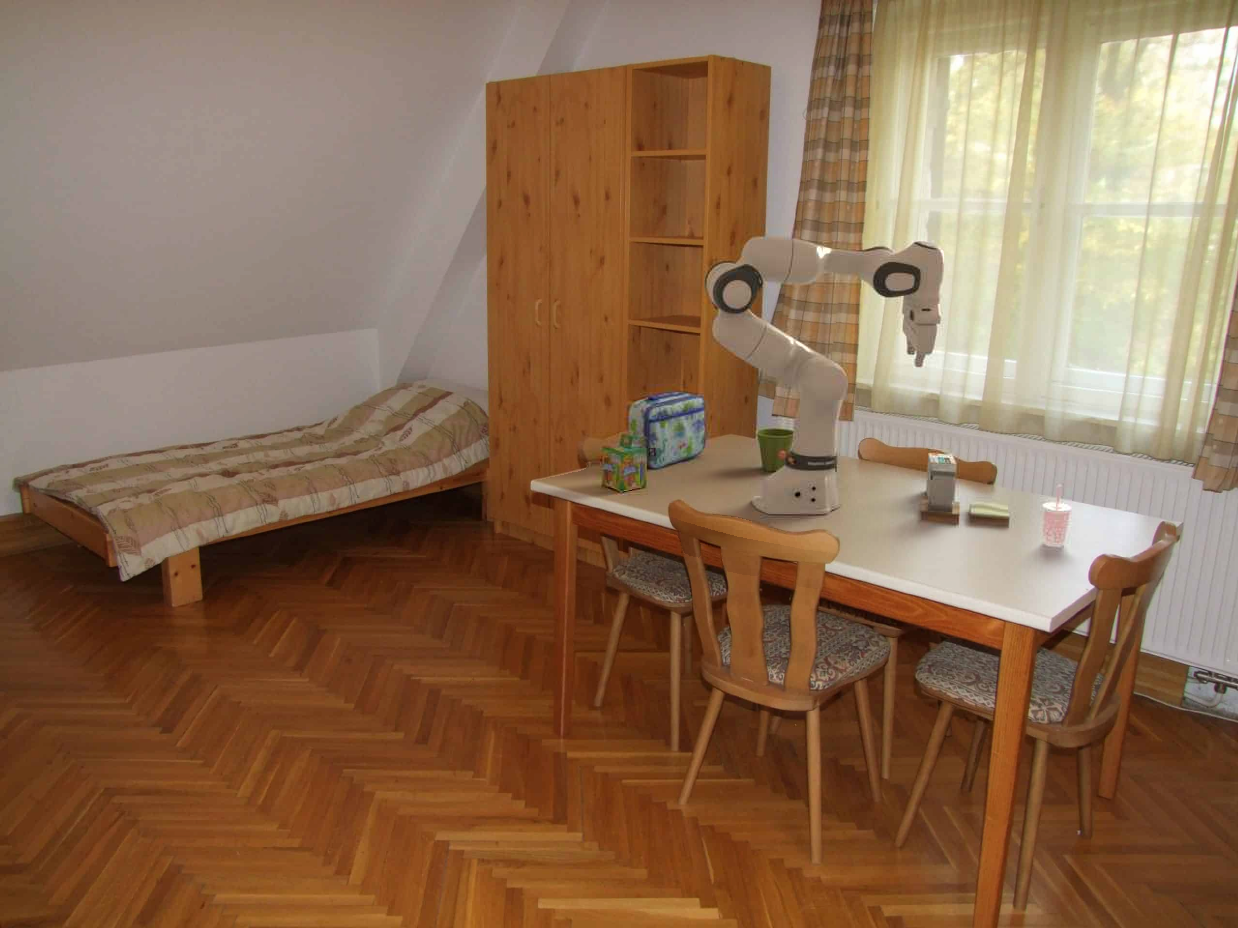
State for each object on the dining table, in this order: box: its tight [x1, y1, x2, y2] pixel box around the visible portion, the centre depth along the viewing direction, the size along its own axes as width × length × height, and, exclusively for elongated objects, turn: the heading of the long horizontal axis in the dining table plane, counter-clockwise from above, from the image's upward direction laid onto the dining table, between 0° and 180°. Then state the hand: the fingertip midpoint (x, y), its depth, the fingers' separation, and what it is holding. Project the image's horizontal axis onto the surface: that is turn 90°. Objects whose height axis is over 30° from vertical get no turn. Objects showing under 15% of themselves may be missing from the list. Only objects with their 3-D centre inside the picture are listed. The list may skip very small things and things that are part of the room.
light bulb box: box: [925, 452, 958, 502], centre depth 277 cm, size 11×7×11 cm, turn 168°
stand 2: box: [969, 500, 1010, 527], centre depth 259 cm, size 11×9×2 cm
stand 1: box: [920, 498, 961, 525], centre depth 261 cm, size 11×9×2 cm
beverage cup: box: [1042, 484, 1073, 548], centre depth 239 cm, size 6×6×14 cm
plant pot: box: [755, 427, 793, 472], centre depth 305 cm, size 12×12×11 cm
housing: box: [929, 463, 957, 512], centre depth 259 cm, size 8×6×10 cm
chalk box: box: [601, 433, 648, 491], centre depth 287 cm, size 9×9×15 cm
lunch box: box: [628, 391, 707, 470], centre depth 313 cm, size 26×11×21 cm, turn 133°
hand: (914, 360), depth 265 cm, fingers open, 8 cm apart
